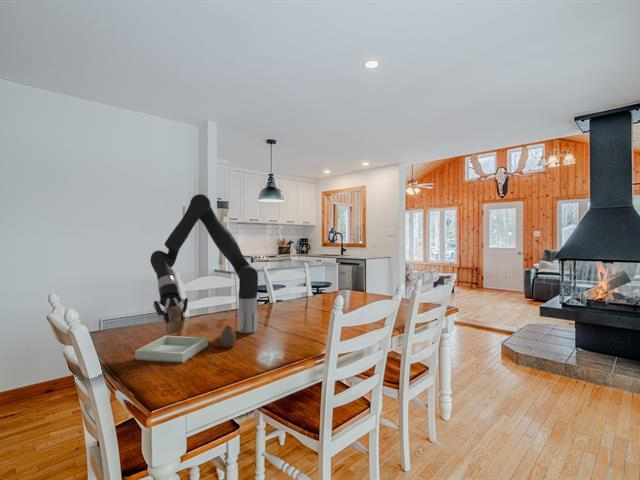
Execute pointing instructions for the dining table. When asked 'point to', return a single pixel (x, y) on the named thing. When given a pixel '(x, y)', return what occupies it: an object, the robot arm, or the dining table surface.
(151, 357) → the sage tray
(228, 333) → the grey rounded egg shape
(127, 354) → the dining table surface
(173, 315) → the walnut block
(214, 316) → the dining table surface
